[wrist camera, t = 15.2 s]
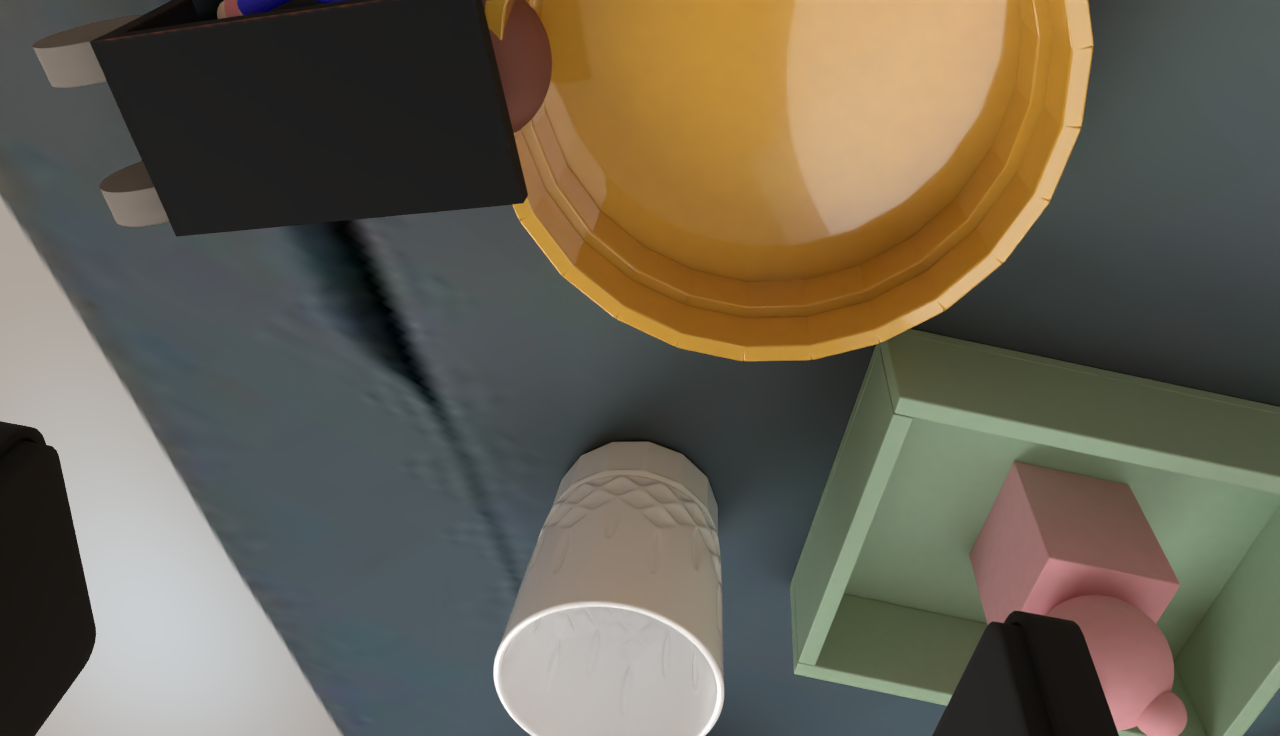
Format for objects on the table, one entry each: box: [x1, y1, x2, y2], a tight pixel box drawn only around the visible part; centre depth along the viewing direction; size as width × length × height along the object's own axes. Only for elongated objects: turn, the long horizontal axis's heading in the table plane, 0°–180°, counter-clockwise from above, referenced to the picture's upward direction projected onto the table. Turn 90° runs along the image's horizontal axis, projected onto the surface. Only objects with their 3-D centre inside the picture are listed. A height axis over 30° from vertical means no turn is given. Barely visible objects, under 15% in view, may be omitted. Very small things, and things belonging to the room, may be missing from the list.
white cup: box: [493, 441, 724, 736], centre depth 38 cm, size 8×8×10 cm
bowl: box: [485, 0, 1094, 361], centre depth 31 cm, size 17×17×4 cm
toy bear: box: [969, 461, 1187, 736], centre depth 36 cm, size 5×5×10 cm
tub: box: [790, 329, 1280, 736], centre depth 38 cm, size 13×17×5 cm
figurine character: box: [33, 0, 552, 236], centre depth 31 cm, size 7×8×15 cm
